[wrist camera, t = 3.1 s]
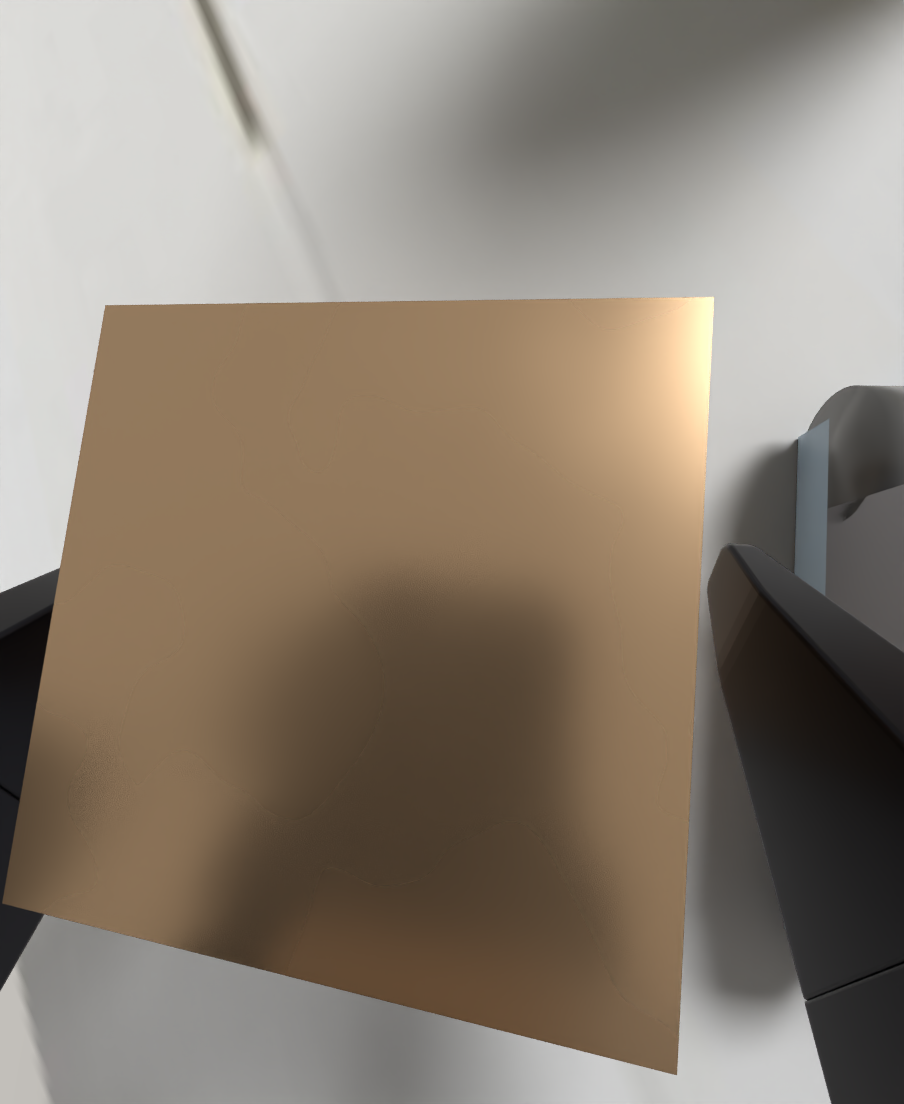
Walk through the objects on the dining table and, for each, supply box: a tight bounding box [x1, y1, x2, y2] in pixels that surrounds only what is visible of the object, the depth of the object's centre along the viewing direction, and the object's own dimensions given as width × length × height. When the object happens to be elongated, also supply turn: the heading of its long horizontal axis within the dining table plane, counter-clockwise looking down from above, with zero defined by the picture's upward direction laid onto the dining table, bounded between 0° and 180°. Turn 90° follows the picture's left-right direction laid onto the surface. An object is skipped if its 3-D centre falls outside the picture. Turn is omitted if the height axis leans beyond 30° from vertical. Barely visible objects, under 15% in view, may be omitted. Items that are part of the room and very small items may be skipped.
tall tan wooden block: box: [2, 297, 714, 1075], centre depth 9 cm, size 5×5×12 cm
